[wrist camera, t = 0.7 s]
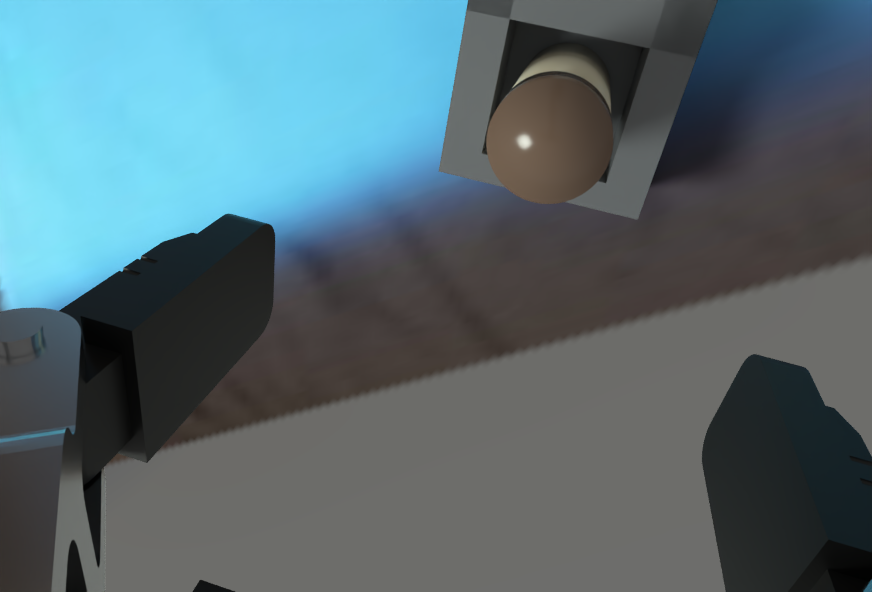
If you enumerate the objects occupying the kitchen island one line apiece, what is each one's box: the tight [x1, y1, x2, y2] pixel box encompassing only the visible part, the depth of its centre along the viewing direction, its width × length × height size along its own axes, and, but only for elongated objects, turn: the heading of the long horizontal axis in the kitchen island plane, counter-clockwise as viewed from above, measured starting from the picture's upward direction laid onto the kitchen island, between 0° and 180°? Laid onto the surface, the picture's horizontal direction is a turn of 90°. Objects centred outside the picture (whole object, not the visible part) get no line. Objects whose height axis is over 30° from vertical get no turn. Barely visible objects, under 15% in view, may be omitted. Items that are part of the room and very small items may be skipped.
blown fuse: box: [486, 43, 613, 204], centre depth 24 cm, size 4×4×9 cm
